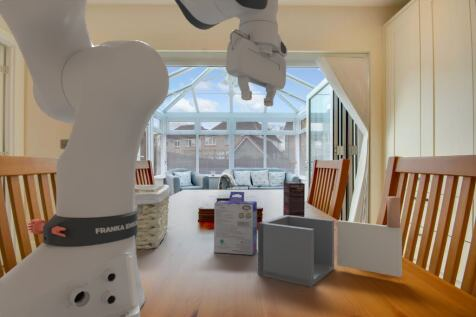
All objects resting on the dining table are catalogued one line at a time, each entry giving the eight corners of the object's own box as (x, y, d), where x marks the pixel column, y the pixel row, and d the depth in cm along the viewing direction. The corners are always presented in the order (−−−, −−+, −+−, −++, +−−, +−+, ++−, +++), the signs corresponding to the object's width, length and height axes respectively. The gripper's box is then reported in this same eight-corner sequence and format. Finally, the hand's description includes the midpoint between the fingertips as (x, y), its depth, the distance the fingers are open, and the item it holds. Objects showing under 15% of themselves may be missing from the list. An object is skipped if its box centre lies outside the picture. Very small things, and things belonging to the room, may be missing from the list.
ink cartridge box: (257, 249, 82) (257, 191, 83) (253, 256, 77) (254, 193, 77) (219, 247, 85) (219, 190, 85) (213, 253, 79) (213, 192, 79)
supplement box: (305, 238, 94) (305, 183, 94) (288, 239, 94) (288, 183, 94) (298, 232, 103) (298, 181, 103) (282, 232, 102) (282, 181, 103)
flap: (402, 274, 62) (402, 197, 62) (400, 278, 60) (400, 198, 60) (339, 263, 68) (339, 193, 69) (336, 266, 67) (336, 194, 67)
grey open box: (311, 286, 58) (311, 230, 58) (257, 274, 64) (258, 223, 64) (334, 268, 68) (334, 220, 68) (285, 259, 74) (285, 215, 74)
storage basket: (159, 251, 81) (160, 191, 81) (91, 252, 80) (92, 191, 80) (171, 230, 105) (171, 184, 105) (118, 231, 104) (119, 184, 104)
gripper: (244, 22, 64) (244, 93, 64) (290, 51, 81) (290, 107, 81) (218, 29, 67) (218, 97, 67) (268, 55, 84) (268, 110, 84)
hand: (258, 103), depth 74 cm, fingers open, 8 cm apart
